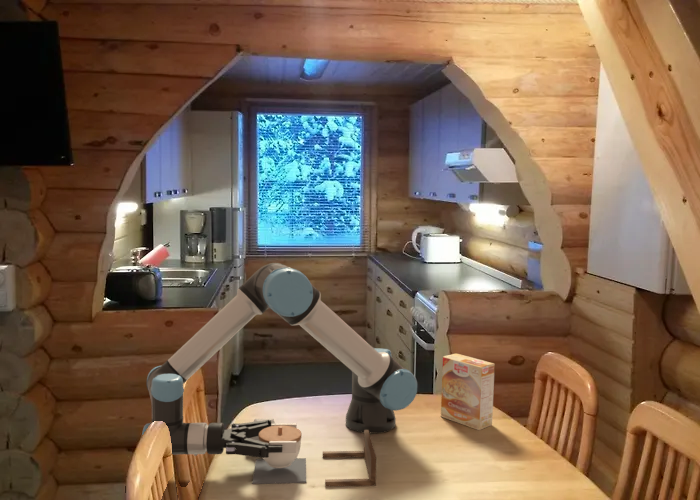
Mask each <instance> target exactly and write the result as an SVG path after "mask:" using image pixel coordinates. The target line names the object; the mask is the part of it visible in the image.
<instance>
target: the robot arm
mask: <svg viewBox="0 0 700 500" xmlns="http://www.w3.org/2000/svg"><path fill="white" fill-rule="evenodd" d="M321 297H322V296H321V291H320V290H318V289H317V288H316V287H315V286H314V285H313V284H312V283H311V281H310V280H309V278H308V277H307V276H306V275H305V274H304V273H303V272H301V271H300V270H299V269H296V268H292V267H290V266H287V265H285V264H283V263H280V262H272V263H271V262H270V263H268V264H265V265H263V266H261V267H260V268H259V269H258V270H256V271H255V272H254V273H253V274H251V276H250V277H249V278H248V279H246V281H245V282H243V284H241V285H240V286H239V287H237V293H236V295H235V296H234V297H232V299H230V301H229V302H228V303H227V304H226V305H225V306H224V307H222V308H221V309H220V310H219V311H218V312H217V313H216V314H215V315H214V316H213V317H211V319H210V320H208V321H207V323H205V325H203V326H202V327H201V328H200V329H199V330H198V331H197V332H195V334H194V335H193V336H192V337H191V338H190V339H188V340H187V341H186V342H185V343H184V344H183V345H182V346H181V347H180V348H179V349H178V350H177V351H175V352H174V354H173V355H171V357H170V358H168V359H167V360H166V361H165V362H164V363H163V364H161V365H158V366H155V367H153V368H152V369H151V370H150V371H149V372H148V374H147V378H146V388H147V391H148V393H149V397H150V402H151V403H150V404H151V421H150V422H148V423H146V424H145V425H144V426H143V429H142V433H141V436H142V435H143V434H144V432H145V431H146V429H147V428H148V426H149V425H150V424H151V423H152V422H154V421H163V422H165V423H166V425H167V426H168V428H169V431H170V436H171V443H172V454H173V456H174V455H175V456H176V455H193V456H195V457H196V456H198V455H205V454H206V453H207V454H208V455H222V454H223V453H224V449H225V454H226V455H239V456H248V457H254V458H259V459H263V458H268V457H269V453H296V441H269V443H265V442H261V441H257V440H253V439H249V438H252V437H256V436H259V432H260V431H261V430H262V429H264V428H267V427H271V426H279V425H283V426H291V427H295V428H297V429H298V427H297V423H275V424H271V420H264V421H256V422H254V421H249V422H242V423H241V422H240V423H231V425H230V427H231V428H226V427H225V424H224V422H210V423H207V422H184V393H185V389H184V384H185V383H186V382H187V381H188V380H189V379H190V378H191V377H192V376H193V375H195V374H196V372H197V371H199V369H200V368H202V367H203V366H204V365H205V364H206V363H207V362H208V361H209V360H210V359H211V358H212V357H213V356H214V355H216V354H217V352H218V351H220V350H221V349H222V348H223V347H224V346H225V345H226V344H227V343H228V342H229V341H230V340H231V339H232V338H233V337H234V336H235V335H237V333H238V332H240V330H242V328H244V327H245V326H246V325H247V324H248V323H249V322H250V321H251V320H252V319H253V318H254V317H256V316H257V315H263V314H264V313H265V312H266V311H267V310H269V309H271V310H272V311H273V312H274V313H275V314H277V315H278V316H279V317H280V318H281V319H283V320H284V321H285V322H286V323H287V324H288V325H290V326H291V327H292V326H300V327H301V328H302V329H303V330H304V331H305V332H307V333H308V334H309V335H310V336H311V337H313V339H314V340H316V341H317V343H319V344H320V345H321V346H323V348H325V349H326V350H327V351H328V352H330V353H331V354H332V355H333V356H334V357H335V358H336V359H337V360H339V361H340V363H342V364H343V365H344V366H346V368H348V369H349V370H350V371H351V400H350V403H349V405H348V408H347V412H346V415H345V425H346V427H347V428H349V429H350V430H352V431H354V432H357V433H358V432H360V433H363V434H364V430H369V433H370V434H382V433H385V432H389V431H392V430H393V429H395V428H396V421H397V420H396V419H397V418H396V414H395V411H396V412H397V411H401V410H405V409H406V408H407V407H409V406H410V405H411V404H412V403H413V401H414V400H415V398H416V396H417V394H418V380H417V378H416V376H415V375H414V374H413V373H412V371H410V369H406V368H404V367H403V366H402V365H401V364H399V362H398V361H396V360H395V359H394V358H393V355H392V350H390V349H388V348H382V347H381V348H378V347H377V348H375V347H373V346H372V344H371V345H370V343H368V342H367V341H366V340H365V339H364V338H363V337H362V336H361V335H360V334H358V332H356V331H355V330H354V329H353V328H352V327H351V326H350V325H349V324H347V323H346V322H345V321H344V320H343V319H342V318H341V317H340V316H339V315H338V314H337V313H335V311H333V310H332V309H331V308H330V307H329V306H328V305H326V303H324V302H323V301H322V300H321V299H322V298H321Z"/></svg>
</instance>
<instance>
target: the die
mask: <svg viewBox="0 0 700 500" xmlns="http://www.w3.org/2000/svg"><path fill="white" fill-rule="evenodd" d="M264 420H271V424H276V422H275V420H274V418H255V419H254V420H253V422H256V421H264ZM249 439H253V440H257V441H259V436H256V437H252V438H249Z"/></svg>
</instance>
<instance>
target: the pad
mask: <svg viewBox="0 0 700 500" xmlns="http://www.w3.org/2000/svg"><path fill="white" fill-rule="evenodd" d="M254 463H255V464H254V469H253V475H252V484H253V485H259V484H260V485H262V484H263V485H265V484H266V485H267V484H269V485H271V484H307V458H304V457H302V458H301V457H299V458H298V457H297V458H296V459H295V460H294V461H293V462H292V464H291V465H290V466H288V467H285V468H273V467H271V466H269V465H268V463H267V462H266V461H265V460H264V459H263V458H256V459H255V462H254Z"/></svg>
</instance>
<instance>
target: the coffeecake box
mask: <svg viewBox="0 0 700 500" xmlns="http://www.w3.org/2000/svg"><path fill="white" fill-rule="evenodd" d="M495 366H496V365H495V363H494V362H489V361H486V360H483V359H479V358H475V357H472V356H468V355H463V354H460V353H452V354H449V355H448V354H447V355H444V356H442V372H441V398H440V399H441V400H440V401H441V402H440V417H441V418H443V419H447V420H450V421H452V422H455V423H458V424H461V425H463V426H467V427H469V428H471V429H475V430H477V431H482V430H483V429H485V428H488V427H491V426H493V412H494V411H493V409H494V408H493V407H494V391H495V390H494V387H495V386H494V385H495Z"/></svg>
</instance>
